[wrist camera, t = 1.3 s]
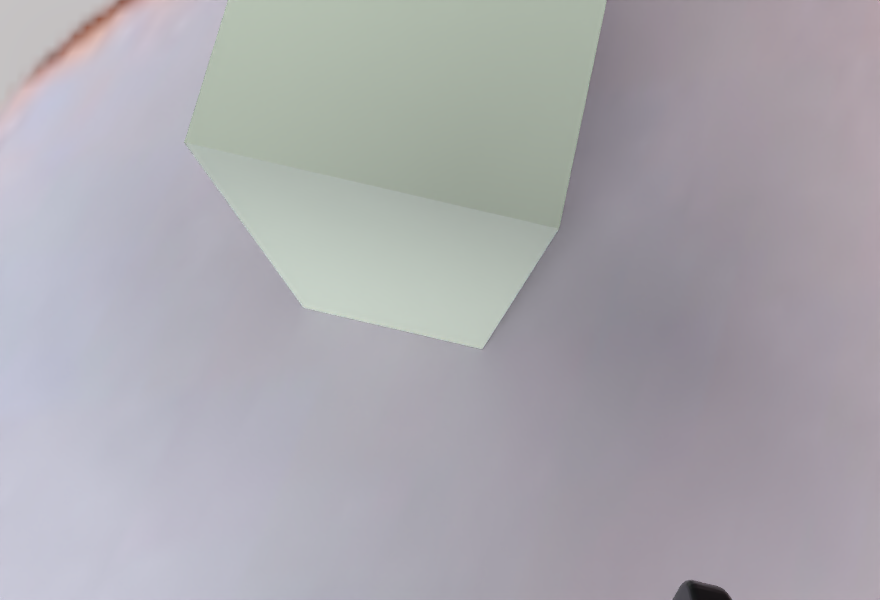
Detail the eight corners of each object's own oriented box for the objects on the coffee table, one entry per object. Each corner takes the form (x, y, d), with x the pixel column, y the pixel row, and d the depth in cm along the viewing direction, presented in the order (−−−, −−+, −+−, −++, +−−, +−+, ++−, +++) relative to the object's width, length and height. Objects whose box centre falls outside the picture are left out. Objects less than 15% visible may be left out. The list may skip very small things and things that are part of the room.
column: (482, 349, 22) (558, 228, 11) (303, 308, 23) (184, 142, 11) (519, 179, 23) (628, -105, 12) (348, 139, 23) (284, -182, 12)
